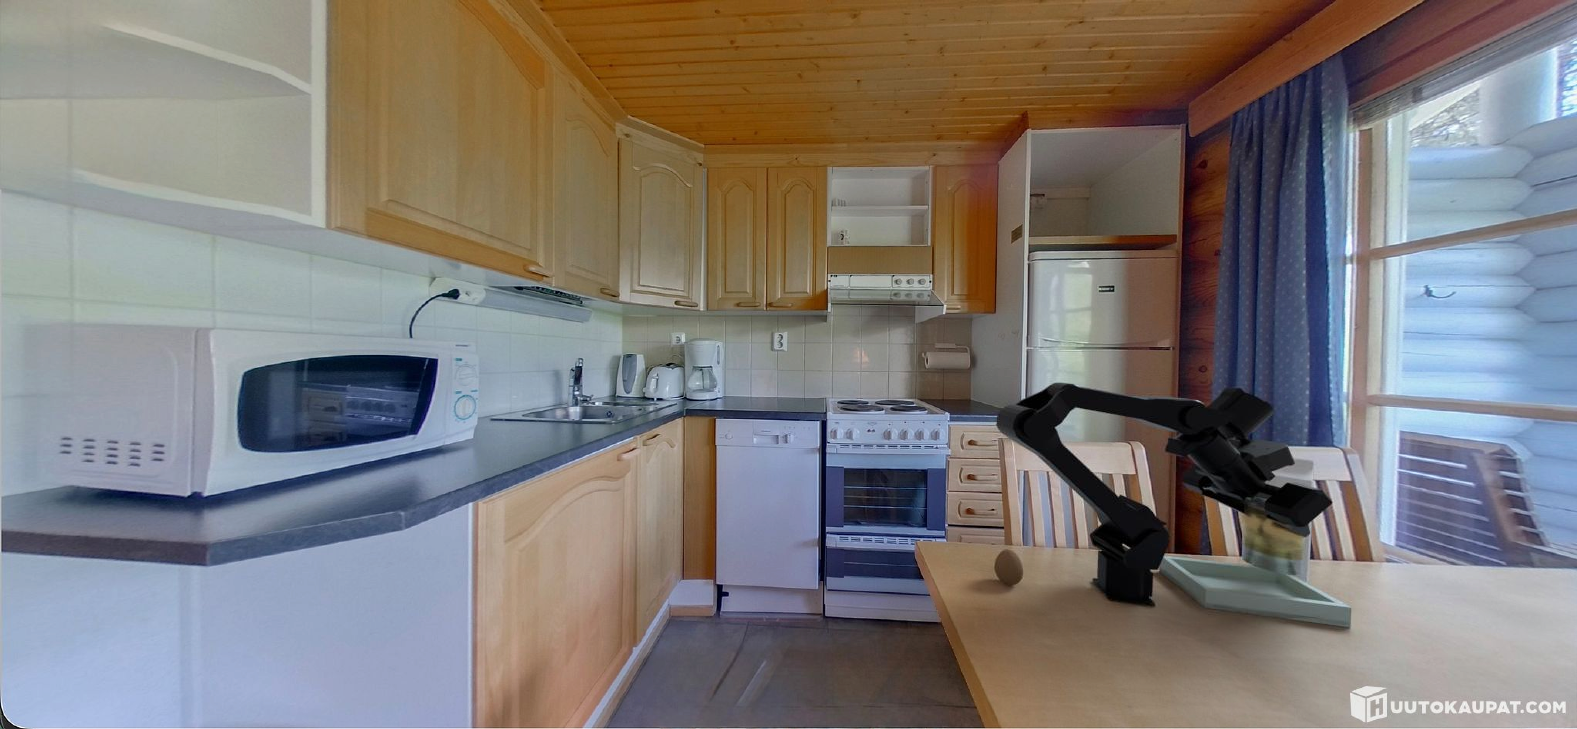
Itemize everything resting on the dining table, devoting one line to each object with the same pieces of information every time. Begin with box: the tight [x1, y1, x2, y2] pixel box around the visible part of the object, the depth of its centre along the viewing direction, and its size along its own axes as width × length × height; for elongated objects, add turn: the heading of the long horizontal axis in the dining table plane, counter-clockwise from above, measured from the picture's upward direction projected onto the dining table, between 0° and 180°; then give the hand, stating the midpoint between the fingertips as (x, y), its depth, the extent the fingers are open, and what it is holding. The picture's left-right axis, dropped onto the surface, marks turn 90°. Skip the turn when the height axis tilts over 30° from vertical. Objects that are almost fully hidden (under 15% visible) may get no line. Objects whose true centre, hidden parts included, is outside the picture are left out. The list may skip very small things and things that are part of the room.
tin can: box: [1241, 496, 1305, 575], centre depth 70 cm, size 7×7×12 cm
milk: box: [1265, 457, 1314, 584], centre depth 79 cm, size 6×6×22 cm
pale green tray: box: [1159, 555, 1352, 628], centre depth 71 cm, size 18×12×3 cm, turn 76°
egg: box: [993, 548, 1024, 586], centre depth 74 cm, size 4×4×6 cm
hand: (1281, 525), depth 70 cm, fingers closed on tin can, 7 cm apart
